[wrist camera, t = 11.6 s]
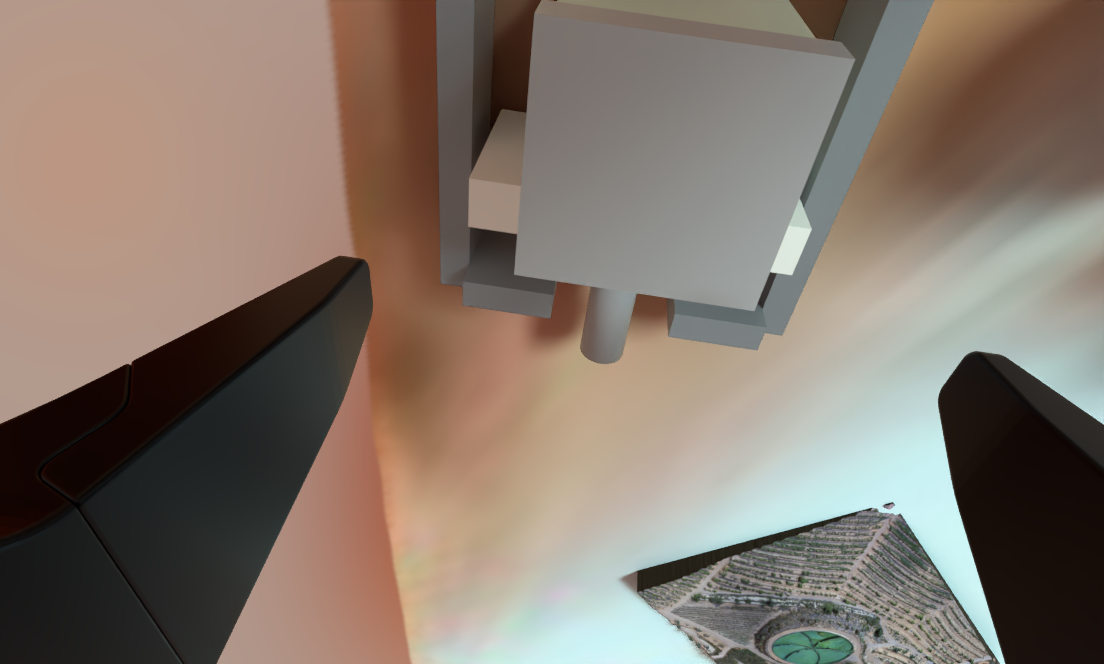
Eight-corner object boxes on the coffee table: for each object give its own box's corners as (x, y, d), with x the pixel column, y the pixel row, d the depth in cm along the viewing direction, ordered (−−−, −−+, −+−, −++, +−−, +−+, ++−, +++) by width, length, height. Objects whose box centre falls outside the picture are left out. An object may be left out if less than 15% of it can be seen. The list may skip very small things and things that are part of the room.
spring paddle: (501, 109, 21) (469, 178, 17) (781, 150, 20) (811, 229, 17) (492, 290, 26) (465, 376, 22) (717, 325, 25) (730, 417, 22)
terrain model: (998, 657, 41) (1020, 712, 39) (778, 689, 48) (784, 736, 46) (892, 492, 32) (912, 550, 29) (636, 560, 39) (636, 612, 36)
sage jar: (772, -43, 17) (855, 59, 10) (718, 143, 21) (754, 311, 14) (578, -70, 17) (534, 13, 11) (557, 120, 21) (514, 274, 14)
